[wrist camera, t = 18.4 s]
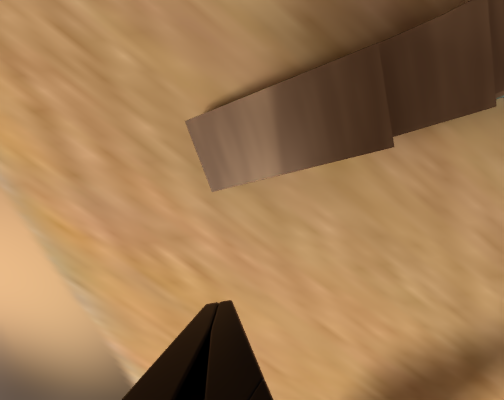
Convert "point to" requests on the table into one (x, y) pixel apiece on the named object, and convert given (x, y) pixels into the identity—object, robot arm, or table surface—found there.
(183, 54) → the table surface
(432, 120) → the domino
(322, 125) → the domino
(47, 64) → the table surface
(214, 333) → the robot arm
